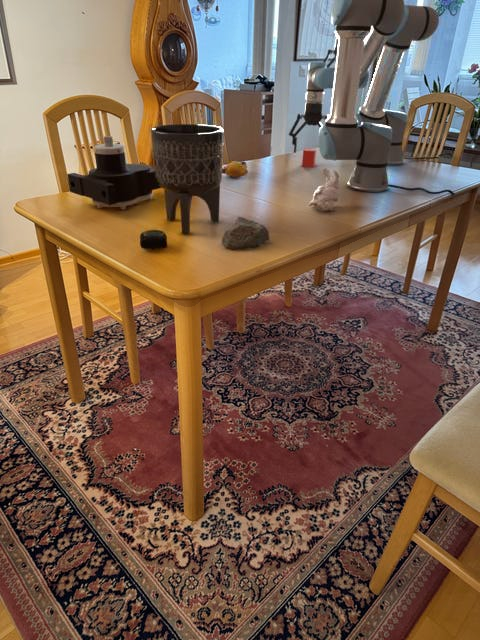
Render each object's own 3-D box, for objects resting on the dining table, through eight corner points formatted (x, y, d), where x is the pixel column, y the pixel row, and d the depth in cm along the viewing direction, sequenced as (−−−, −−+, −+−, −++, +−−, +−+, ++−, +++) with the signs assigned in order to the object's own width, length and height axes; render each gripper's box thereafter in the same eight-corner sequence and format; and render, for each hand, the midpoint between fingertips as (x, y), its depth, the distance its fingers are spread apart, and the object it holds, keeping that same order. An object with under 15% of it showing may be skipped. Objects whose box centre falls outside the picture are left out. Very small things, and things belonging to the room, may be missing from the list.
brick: (303, 164, 215) (305, 148, 211) (314, 164, 214) (316, 149, 210) (301, 166, 210) (303, 150, 207) (313, 167, 209) (314, 151, 205)
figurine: (343, 205, 155) (348, 167, 148) (324, 216, 144) (329, 175, 137) (322, 201, 158) (326, 164, 152) (302, 211, 148) (305, 171, 141)
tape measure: (140, 252, 115) (139, 238, 113) (141, 242, 120) (140, 229, 119) (167, 251, 116) (166, 237, 114) (167, 241, 121) (166, 228, 120)
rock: (255, 233, 128) (256, 211, 124) (276, 242, 122) (278, 219, 119) (217, 244, 120) (217, 220, 117) (239, 254, 115) (239, 230, 111)
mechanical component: (60, 135, 140) (138, 127, 160) (72, 203, 151) (143, 187, 171) (101, 144, 128) (180, 134, 148) (111, 217, 139) (183, 198, 159)
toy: (216, 169, 183) (223, 161, 196) (222, 185, 186) (228, 175, 199) (242, 161, 180) (247, 153, 193) (247, 176, 183) (252, 167, 196)
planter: (143, 226, 132) (134, 128, 119) (187, 210, 146) (183, 122, 133) (195, 240, 123) (191, 136, 109) (236, 222, 137) (238, 128, 123)
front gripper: (284, 101, 198) (281, 152, 209) (342, 104, 193) (336, 156, 203) (287, 100, 204) (284, 150, 215) (343, 102, 199) (337, 153, 209)
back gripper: (317, 37, 220) (312, 86, 231) (369, 38, 215) (362, 88, 225) (318, 38, 226) (314, 85, 237) (370, 38, 221) (363, 87, 232)
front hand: (309, 153), depth 209 cm, fingers open, 13 cm apart
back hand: (338, 87), depth 231 cm, fingers open, 13 cm apart
